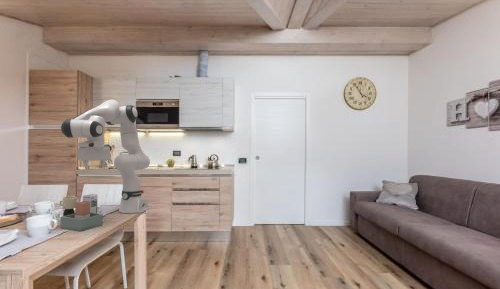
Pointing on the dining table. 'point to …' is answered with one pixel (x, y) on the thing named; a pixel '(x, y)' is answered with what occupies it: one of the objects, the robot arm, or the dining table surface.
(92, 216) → the tray
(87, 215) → the salmon pink two-tone box
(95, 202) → the syrup box
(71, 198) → the character mug
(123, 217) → the dining table surface
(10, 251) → the dining table surface
